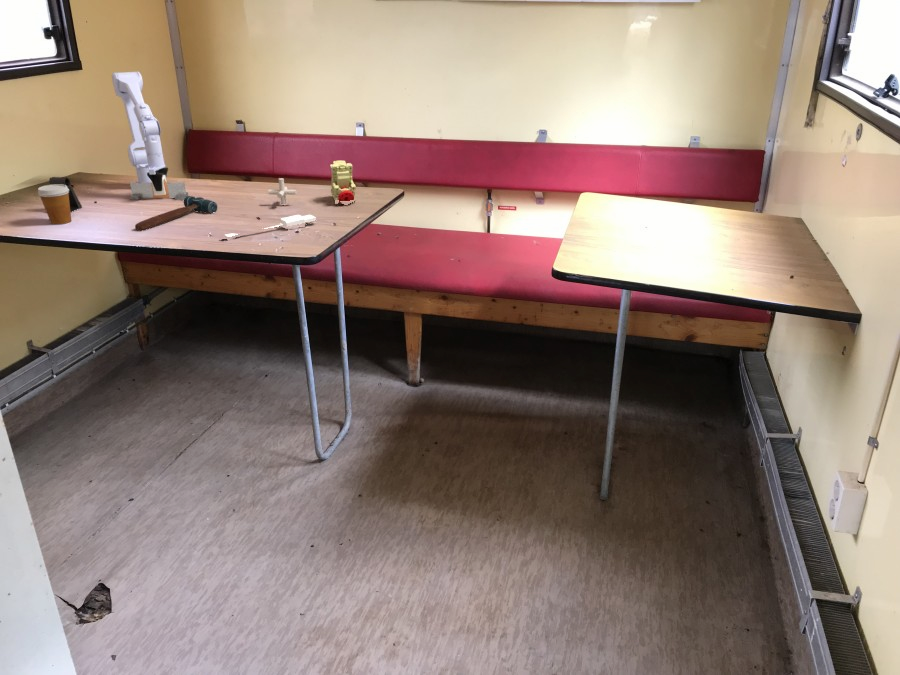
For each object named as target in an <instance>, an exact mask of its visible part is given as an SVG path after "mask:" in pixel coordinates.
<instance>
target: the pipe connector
mask: <svg viewBox="0 0 900 675" xmlns="http://www.w3.org/2000/svg"><path fill="white" fill-rule="evenodd" d="M278 185H279V186H278V189H268V190H267V191H268V195H276V196H277V198H278V199H280V204H286V205H287V199H286V198H287V197H286V195H290V196H291V195H297V189H288V187H287V186H285V179H284V178H282V177H281V178H280V177H279V178H278Z"/></svg>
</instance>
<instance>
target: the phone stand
mask: <svg viewBox="0 0 900 675" xmlns="http://www.w3.org/2000/svg"><path fill="white" fill-rule="evenodd" d="M48 181H49V185H54V184H63V185H66V186H67V188H68V189H69V193H68V194H69V203H70V212H71V213H73V212H75V211H74V210H76V211H78V210H80V209H82V208H83V205H82V203H81V202H80V200H79V198H78V196H77V194H76V192H75V191H74V188H73V186H72V184H71V179H70V178H69V177H61V176H52V177H49V180H48ZM77 209H78V210H77ZM72 211H73V212H72Z"/></svg>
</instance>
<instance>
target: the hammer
mask: <svg viewBox="0 0 900 675" xmlns="http://www.w3.org/2000/svg"><path fill="white" fill-rule="evenodd" d="M183 205H184V206H183V207H180V208H176V209H172V210H169V211H167V212H164V213H161V214H158V215H154V216H152V217H149V218H147V219H143V220H142V221H138V222H137V223H136V224H135V225H134V228H135V230H137V231H138V230H140V232H143V231H146V229H147V230H149V228H150V229H153V228H156V227H158V226H161V225H162V224H166V223H168V222H170V221H173V220H175V219H178V218H179V217H182V216H184V215H186V214H188V213H189V212H192V211H194V212H195V211H198V212H197V213H201V212H200V211H202V212H203V213H204V212H206V213H205V214H214V213H213V212H215V213H216V212H217V211H218V204H217V202H216V201H213V200H211V199H207V198H206V199H205V197H202V196H201V197H200V196H198V197H196V196H193V195H188V196H187V197H186V198H185V199H184V200H183ZM165 222H166V223H165ZM160 224H161V225H160ZM155 226H156V227H155ZM152 227H153V228H152ZM142 230H143V231H142Z"/></svg>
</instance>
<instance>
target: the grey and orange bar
mask: <svg viewBox="0 0 900 675" xmlns="http://www.w3.org/2000/svg"><path fill="white" fill-rule="evenodd" d="M129 185H130V188H131V189H130V191H131V195H130V200H131V201H140V199H153V198H175V199H174V200H175V201H184V199H185V198H186V197H187V196H189V191H187V190H186V185H185V181H167V182H164V187H165V192H166V195H154V191H153V186H152V182H138V181H131V182H130V183H129Z"/></svg>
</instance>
